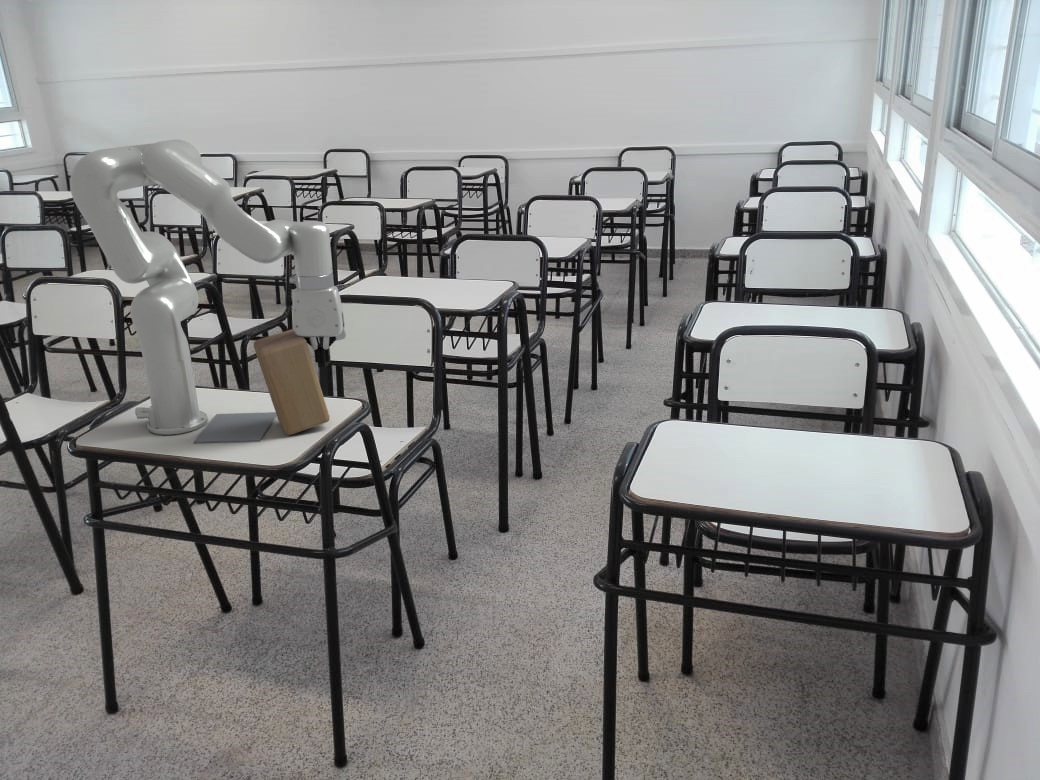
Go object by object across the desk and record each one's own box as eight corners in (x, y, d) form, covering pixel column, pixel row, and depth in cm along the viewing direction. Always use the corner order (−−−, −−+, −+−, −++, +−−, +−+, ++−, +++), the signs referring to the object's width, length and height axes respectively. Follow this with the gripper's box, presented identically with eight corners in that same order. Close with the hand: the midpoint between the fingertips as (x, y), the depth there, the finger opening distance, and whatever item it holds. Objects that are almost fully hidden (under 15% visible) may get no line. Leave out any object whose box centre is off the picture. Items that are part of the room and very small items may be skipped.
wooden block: (278, 422, 189) (251, 340, 181) (321, 407, 192) (296, 326, 184) (287, 438, 181) (258, 352, 172) (331, 422, 184) (306, 337, 176)
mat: (193, 443, 179) (193, 441, 179) (216, 415, 194) (216, 413, 194) (260, 441, 179) (259, 439, 179) (278, 413, 194) (277, 412, 194)
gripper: (274, 286, 172) (284, 371, 178) (348, 285, 173) (355, 370, 179) (283, 278, 179) (292, 361, 185) (354, 277, 180) (360, 359, 186)
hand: (323, 365), depth 182 cm, fingers closed
